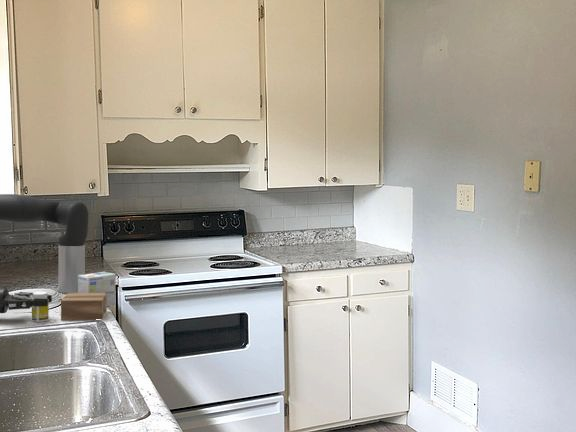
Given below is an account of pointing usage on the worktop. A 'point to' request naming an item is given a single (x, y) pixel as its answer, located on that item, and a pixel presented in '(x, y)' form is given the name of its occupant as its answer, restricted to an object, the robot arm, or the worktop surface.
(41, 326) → the worktop surface
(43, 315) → the supplement bottle
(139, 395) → the worktop surface
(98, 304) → the walnut block
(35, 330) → the worktop surface
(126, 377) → the worktop surface
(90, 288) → the light bulb box
